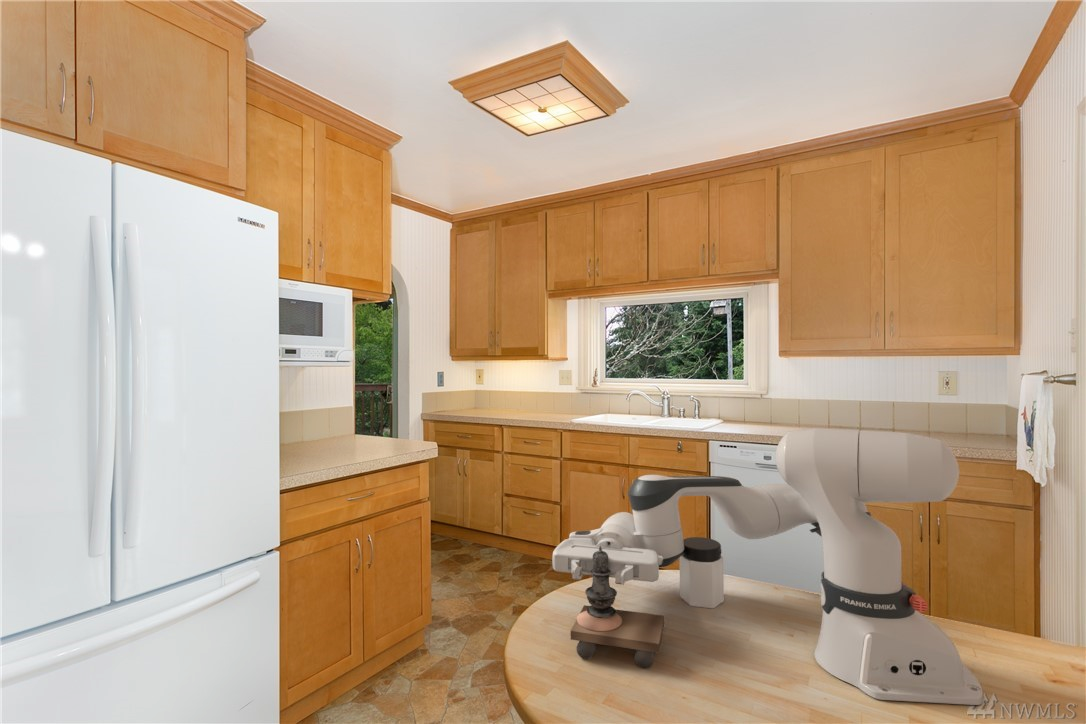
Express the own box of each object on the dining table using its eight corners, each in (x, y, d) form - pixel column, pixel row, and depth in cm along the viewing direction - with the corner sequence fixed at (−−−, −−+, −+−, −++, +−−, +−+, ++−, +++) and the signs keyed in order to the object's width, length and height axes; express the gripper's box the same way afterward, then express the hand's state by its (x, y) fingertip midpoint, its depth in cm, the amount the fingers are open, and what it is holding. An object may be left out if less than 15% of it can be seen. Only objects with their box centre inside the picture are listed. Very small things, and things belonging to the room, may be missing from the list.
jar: (731, 606, 110) (730, 548, 110) (695, 611, 108) (694, 552, 108) (708, 588, 119) (707, 534, 119) (674, 592, 117) (673, 538, 117)
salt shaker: (619, 618, 96) (618, 551, 96) (586, 619, 96) (585, 552, 96) (614, 603, 102) (613, 540, 102) (583, 604, 102) (583, 541, 102)
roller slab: (664, 640, 97) (664, 614, 97) (659, 671, 88) (658, 642, 88) (584, 628, 102) (584, 604, 102) (570, 656, 92) (570, 629, 92)
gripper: (664, 571, 105) (657, 602, 92) (564, 561, 111) (543, 588, 98) (663, 539, 105) (656, 565, 92) (563, 531, 111) (543, 554, 98)
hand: (597, 577), depth 95 cm, fingers open, 6 cm apart
